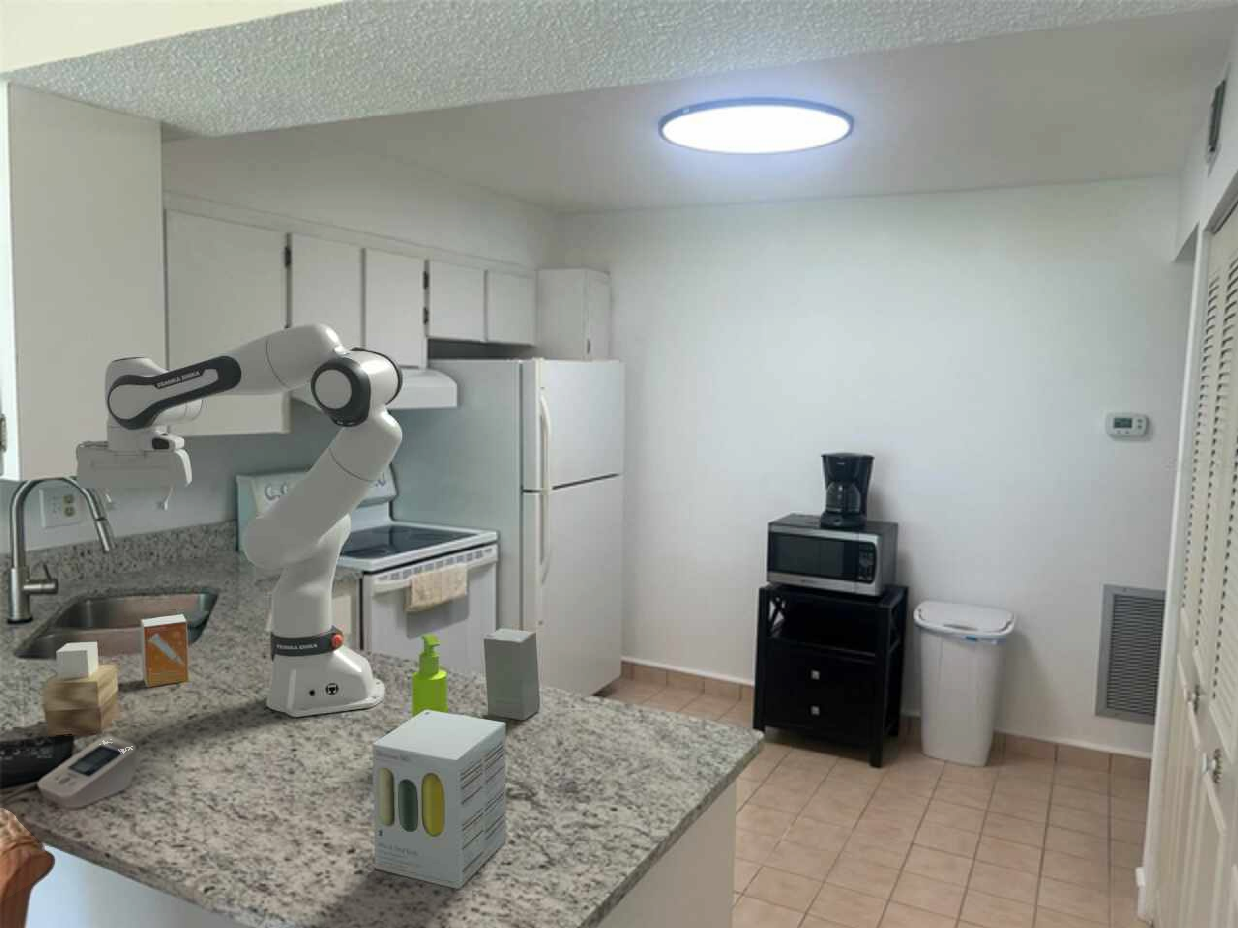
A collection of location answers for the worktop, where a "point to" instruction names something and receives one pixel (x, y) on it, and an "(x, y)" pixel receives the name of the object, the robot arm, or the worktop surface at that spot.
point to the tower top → (80, 690)
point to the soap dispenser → (429, 680)
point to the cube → (77, 660)
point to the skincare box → (512, 674)
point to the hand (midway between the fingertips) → (136, 510)
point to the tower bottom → (82, 719)
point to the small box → (164, 650)
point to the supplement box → (439, 797)
